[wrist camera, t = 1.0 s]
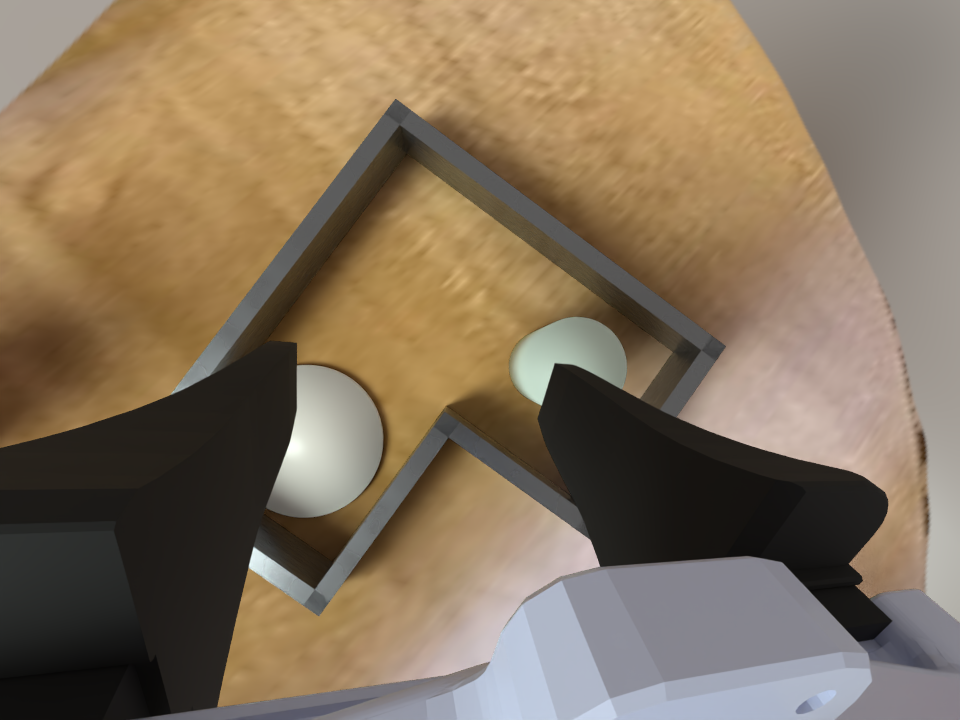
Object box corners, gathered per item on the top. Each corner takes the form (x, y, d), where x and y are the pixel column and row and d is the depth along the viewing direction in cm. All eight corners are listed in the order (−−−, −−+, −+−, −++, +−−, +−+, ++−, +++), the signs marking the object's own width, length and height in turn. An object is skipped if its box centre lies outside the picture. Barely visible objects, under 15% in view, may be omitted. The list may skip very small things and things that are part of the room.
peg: (595, 358, 26) (646, 356, 19) (553, 417, 25) (588, 437, 18) (537, 315, 25) (566, 296, 18) (494, 374, 25) (507, 378, 18)
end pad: (413, 422, 25) (412, 423, 25) (323, 545, 25) (322, 547, 24) (291, 335, 25) (289, 334, 24) (198, 457, 24) (195, 459, 24)
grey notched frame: (695, 348, 26) (726, 346, 23) (464, 675, 25) (465, 718, 22) (403, 130, 25) (395, 98, 22) (154, 458, 24) (111, 472, 21)
